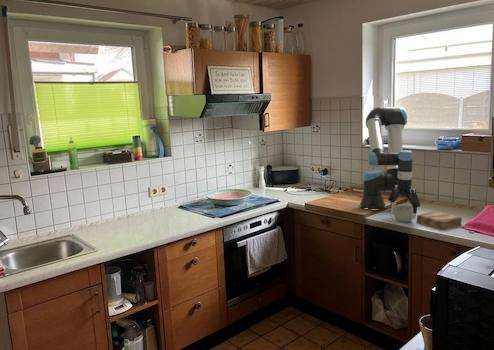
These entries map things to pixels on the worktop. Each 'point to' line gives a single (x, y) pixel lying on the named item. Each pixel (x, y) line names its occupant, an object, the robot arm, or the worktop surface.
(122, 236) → the worktop surface
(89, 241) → the worktop surface
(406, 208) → the teacup
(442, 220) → the block
